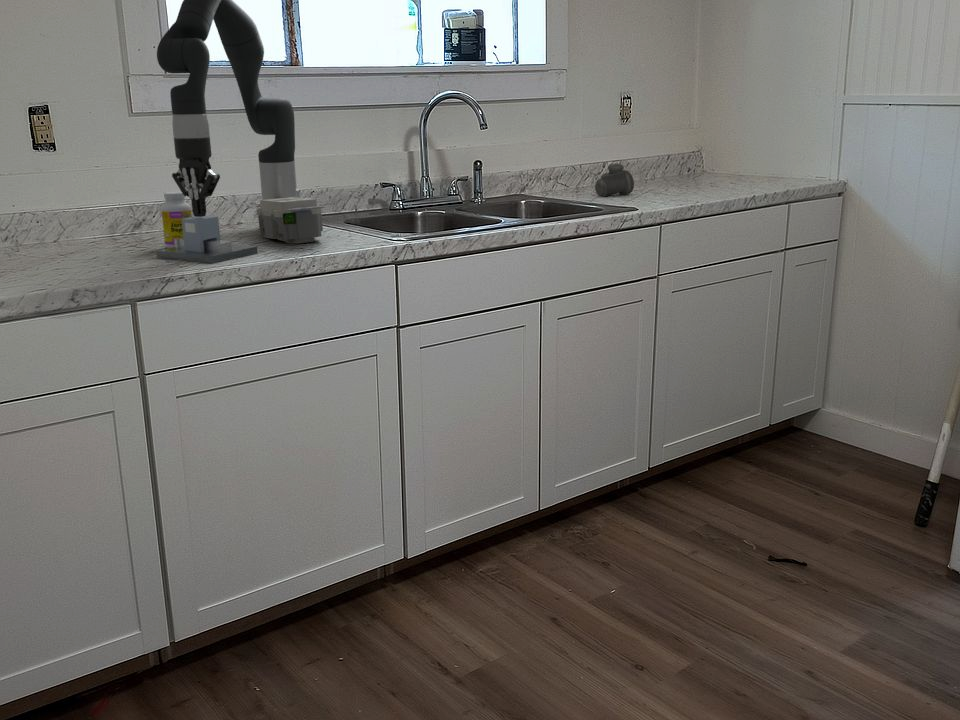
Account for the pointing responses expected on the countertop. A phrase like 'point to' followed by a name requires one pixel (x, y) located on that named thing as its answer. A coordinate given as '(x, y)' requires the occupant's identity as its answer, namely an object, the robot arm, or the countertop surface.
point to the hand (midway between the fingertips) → (199, 216)
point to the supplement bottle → (174, 216)
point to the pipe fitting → (615, 181)
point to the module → (199, 232)
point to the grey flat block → (207, 251)
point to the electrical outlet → (290, 219)
